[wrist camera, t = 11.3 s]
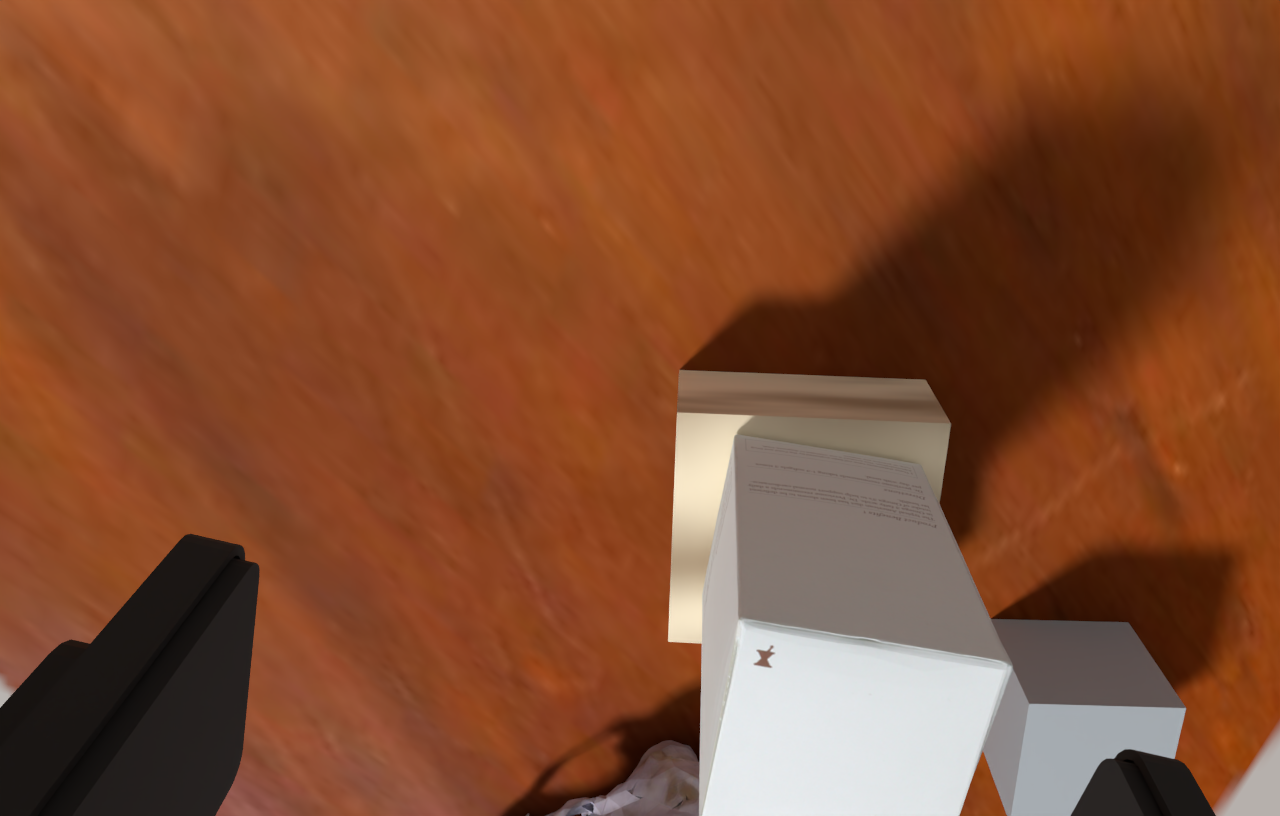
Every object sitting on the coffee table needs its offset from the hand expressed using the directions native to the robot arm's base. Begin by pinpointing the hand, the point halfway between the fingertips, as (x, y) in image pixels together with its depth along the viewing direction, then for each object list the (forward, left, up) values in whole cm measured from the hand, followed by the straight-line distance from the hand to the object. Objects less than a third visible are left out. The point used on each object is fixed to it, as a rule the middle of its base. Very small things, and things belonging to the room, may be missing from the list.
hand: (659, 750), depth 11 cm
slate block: (+16, +22, -31) cm, 42 cm away
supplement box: (+10, +8, -27) cm, 30 cm away
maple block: (+10, +8, -32) cm, 34 cm away
